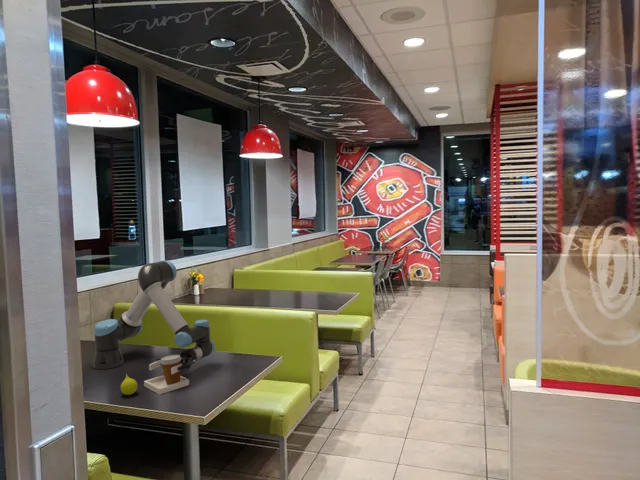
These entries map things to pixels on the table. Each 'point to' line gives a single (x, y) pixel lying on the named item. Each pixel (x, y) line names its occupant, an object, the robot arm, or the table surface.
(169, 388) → the square tray
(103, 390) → the table surface
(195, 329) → the robot arm
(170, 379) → the disposable coffee cup
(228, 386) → the table surface
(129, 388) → the ornament
